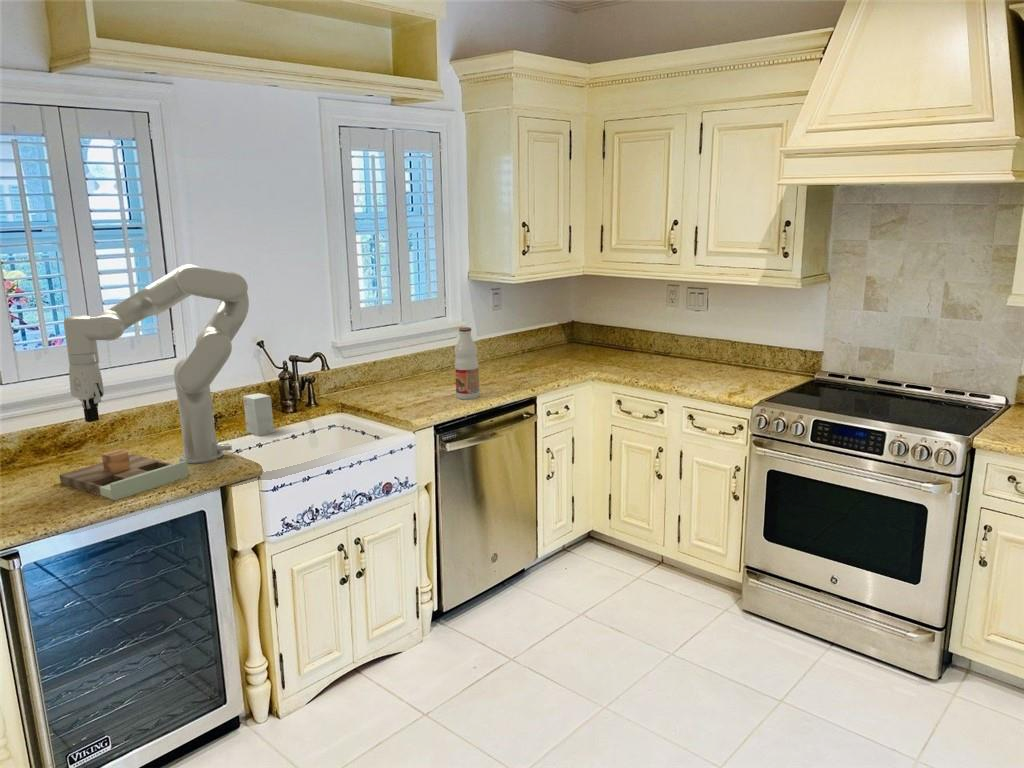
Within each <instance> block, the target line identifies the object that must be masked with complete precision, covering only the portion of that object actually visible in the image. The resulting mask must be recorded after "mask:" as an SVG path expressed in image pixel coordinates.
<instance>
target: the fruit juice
mask: <svg viewBox="0 0 1024 768" xmlns="http://www.w3.org/2000/svg"><path fill="white" fill-rule="evenodd" d="M458 333H459V339H458V342H457V343H456V345H455V346H454V354H455V361H454V375H455V377H454V379H455V394H456V395H455V396H456V398H457V399H459V400H474V399H477V398H479V397H480V373H479V372H480V371H479V368H480V367H479V360H478V358H477V357H478V347H477V345H476V343H475V342H474V341H473V338H472V334H471V333H472V328H471V327H469V326H468V327H466V326H464V327H459V328H458Z"/></svg>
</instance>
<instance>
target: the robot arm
mask: <svg viewBox="0 0 1024 768" xmlns="http://www.w3.org/2000/svg"><path fill="white" fill-rule="evenodd" d="M248 288H249V287H248V283H247V281H246V279H245V278H244V277H243V276H242V275H241V274H238V273H237V272H234V271H223V270H222V271H221V270H216V269H215V270H214V269H212V268H206V267H202V266H197V265H195V264H191V263H187V264H182V265H181V266H179V267H177V268H175V269H174V270H172V271H170V272H169V273H167V274H165V275H163V276H162V277H161V278H159V279H157V280H155V281H154V282H152V283H150V284H148V285H147V286H144V287H143V288H141V289H139V290H138V291H137V292H135V293H134V294H133V295H130V296H129V297H127V298H125V299H124V300H122V301H120V302H118V303H116V304H115V305H113V306H111V307H110V308H107V310H105V311H103V312H101V313H100V314H99V315H97V316H90V315H81V314H80V315H72V316H71V315H70V316H67V317H65V318H64V320H63V328H64V329H63V330H64V335H65V343H66V348H67V356H68V357H67V358H68V365H69V369H68V370H69V371H68V374H69V375H68V376H69V377H68V378H69V389H70V394H71V397H73V398H75V399H78V400H79V401H80V402H81V405H82V406H81V407H82V409H83V413H84V421H85V422H86V423H92V422H96V421H99V420H100V417H99V415H100V414H99V409H98V408H99V404H100V403H102V397H103V396H104V394H105V390H104V383H103V376H102V373H101V368H100V365H99V363H100V359H99V351H98V343H97V341H116V340H119V339H120V338H121V337H122V336H123V334H124V332H125V330H127V329H129V328H130V327H132V326H134V325H135V324H137V323H139V322H141V321H143V320H145V319H146V318H149V317H152V316H156V315H160V314H161V313H163V312H166V311H167V310H169V309H171V308H172V307H174V306H175V305H178V303H180V302H182V301H183V300H185V299H187V298H189V297H190V296H195V297H201V298H206V299H212V300H218V301H219V304H218V307H217V309H216V310H215V312H214V313H213V315H212V317H211V318H210V319H209V321H208V322H207V324H206V325H205V327H204V328H203V329H202V331H201V332H200V333H199V334H198V336H197V337H196V338H195V339H196V341H195V346H194V348H193V350H192V351H191V353H190V354H189V356H187V357H183V358H182V359H180V360H178V362H177V363H176V365H175V367H174V371H173V378H174V385H175V390H176V395H177V403H178V406H177V407H178V414H179V420H180V430H181V437H182V445H183V451H184V452H183V453H182V454H180V455H179V462H181V461H187V464H199V463H206V462H211V461H216V460H217V459H219V458H221V457H223V455H224V451H232V449H233V448H232V446H233V445H232V443H229V442H225V443H221V442H219V441H220V440H219V439H217V436H216V428H215V419H214V412H213V411H214V410H213V402H212V391H211V388H210V387H211V384H212V383H213V381H214V380H215V379H216V377H217V376H218V375H219V373H220V372H221V370H222V369H223V368H224V365H225V364H226V362H227V361H228V360H229V358H230V356H231V355H232V354H231V353H232V349H233V345H232V341H233V340H234V339H235V336H236V335H237V333H238V332H239V331H240V328H241V327H242V326H243V324H244V323H245V320H246V318H247V316H248V312H249V309H250V308H249V306H250V305H249V304H250V302H249V301H250V300H249V295H248V291H249V289H248Z"/></svg>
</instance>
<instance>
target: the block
mask: <svg viewBox="0 0 1024 768" xmlns="http://www.w3.org/2000/svg"><path fill="white" fill-rule="evenodd" d="M129 455H130V454H129V451H125V450H122V449H116V450H115V449H114V450H111V451H107V452H104V453H101V459H102V463H103V467H104V471H107V472H111V473H117V472H120V471H123V470H127V469H130V462H129Z"/></svg>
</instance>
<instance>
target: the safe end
mask: <svg viewBox="0 0 1024 768" xmlns="http://www.w3.org/2000/svg"><path fill="white" fill-rule="evenodd" d="M170 464H171V465H168V466H165V467H161V468H158V469H155V470H152V471H149V472H145V473H142V474H139V475H136V476H132V477H129V478H126V479H123V480H119V481H116V482H113V483H110V484H108V485H105V486H102V487H100V493H101V495H102V496H101V497H103V496H105V497H104V498H106V497H108V498H107V499H109V498H110V499H109V500H113V501H118V500H120V499H123V498H128V497H130V496H133V495H137V494H139V493H142V492H145V491H149V490H152V489H154V488H155V489H156V488H158V487H161V486H163V484H164V485H167V484H169V482H170V483H173V482H175V480H176V481H178V479H179V480H181V479H185V478H187V477H189V476H190V474H189V467H188V466H189V463H187V461H178V462H175V463H170ZM172 481H173V482H172ZM160 485H161V486H160Z"/></svg>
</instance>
